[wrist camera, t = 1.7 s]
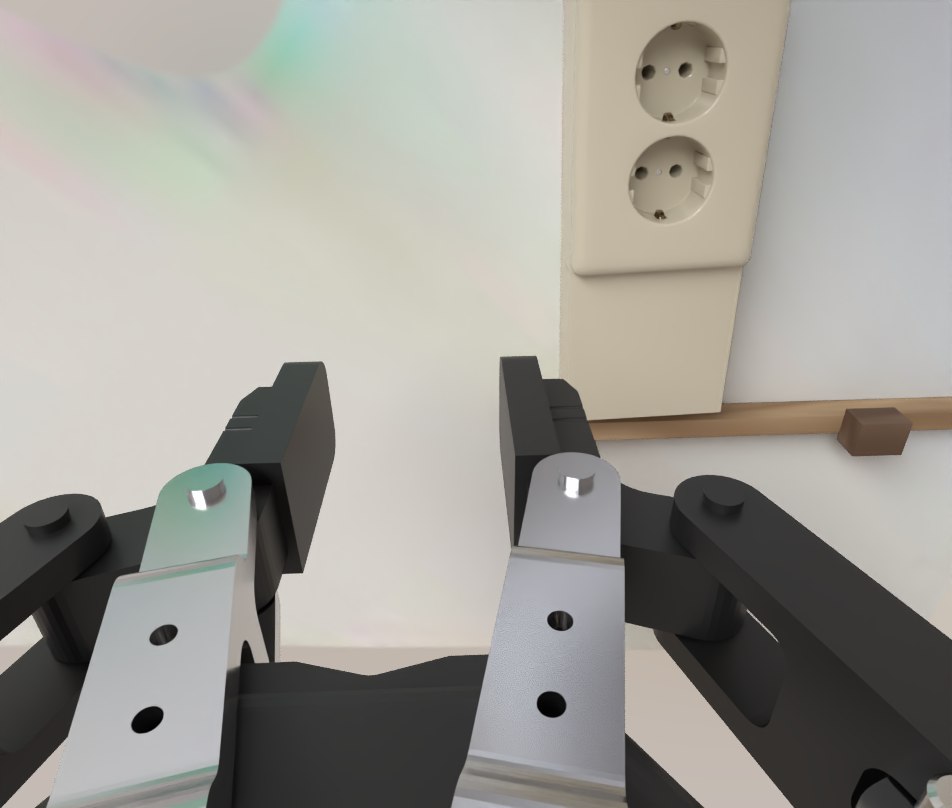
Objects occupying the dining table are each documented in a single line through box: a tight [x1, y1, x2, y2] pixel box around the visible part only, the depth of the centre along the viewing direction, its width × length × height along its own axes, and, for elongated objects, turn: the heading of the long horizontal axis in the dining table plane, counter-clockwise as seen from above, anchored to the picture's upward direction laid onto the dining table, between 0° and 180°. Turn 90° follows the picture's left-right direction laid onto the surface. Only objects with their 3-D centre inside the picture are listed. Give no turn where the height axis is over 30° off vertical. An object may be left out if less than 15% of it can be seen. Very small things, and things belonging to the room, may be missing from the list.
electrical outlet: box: [559, 0, 792, 420], centre depth 27 cm, size 7×4×18 cm
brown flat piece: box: [587, 397, 952, 456], centre depth 27 cm, size 24×24×3 cm
